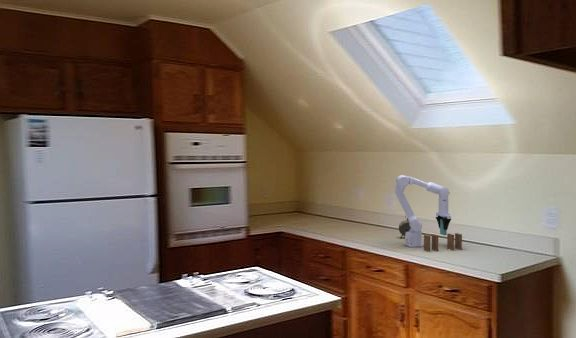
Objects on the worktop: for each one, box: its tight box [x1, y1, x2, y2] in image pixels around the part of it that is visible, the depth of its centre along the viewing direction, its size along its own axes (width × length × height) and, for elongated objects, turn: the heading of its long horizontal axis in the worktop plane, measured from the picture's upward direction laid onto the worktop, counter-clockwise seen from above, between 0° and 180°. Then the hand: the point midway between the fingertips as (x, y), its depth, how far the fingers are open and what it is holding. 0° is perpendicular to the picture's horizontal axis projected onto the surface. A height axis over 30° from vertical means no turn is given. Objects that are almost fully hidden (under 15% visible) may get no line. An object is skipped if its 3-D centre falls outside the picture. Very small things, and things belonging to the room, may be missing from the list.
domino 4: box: [454, 232, 463, 251], centre depth 296 cm, size 2×5×9 cm, turn 12°
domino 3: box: [446, 233, 455, 251], centre depth 295 cm, size 2×5×9 cm, turn 12°
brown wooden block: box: [423, 234, 431, 253], centre depth 292 cm, size 2×5×9 cm, turn 12°
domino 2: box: [431, 233, 439, 252], centre depth 293 cm, size 2×5×9 cm, turn 12°
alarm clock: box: [398, 215, 411, 239], centre depth 332 cm, size 11×5×16 cm, turn 90°
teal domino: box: [439, 219, 448, 236], centre depth 305 cm, size 2×5×9 cm, turn 12°
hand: (443, 229), depth 305 cm, fingers closed on teal domino, 5 cm apart
